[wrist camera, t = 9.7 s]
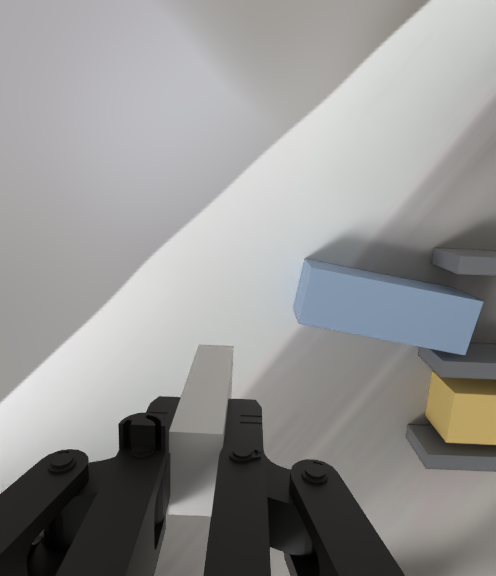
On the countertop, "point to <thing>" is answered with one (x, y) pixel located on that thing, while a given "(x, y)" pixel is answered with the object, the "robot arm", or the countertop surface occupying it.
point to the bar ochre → (463, 409)
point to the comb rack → (458, 376)
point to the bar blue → (385, 307)
